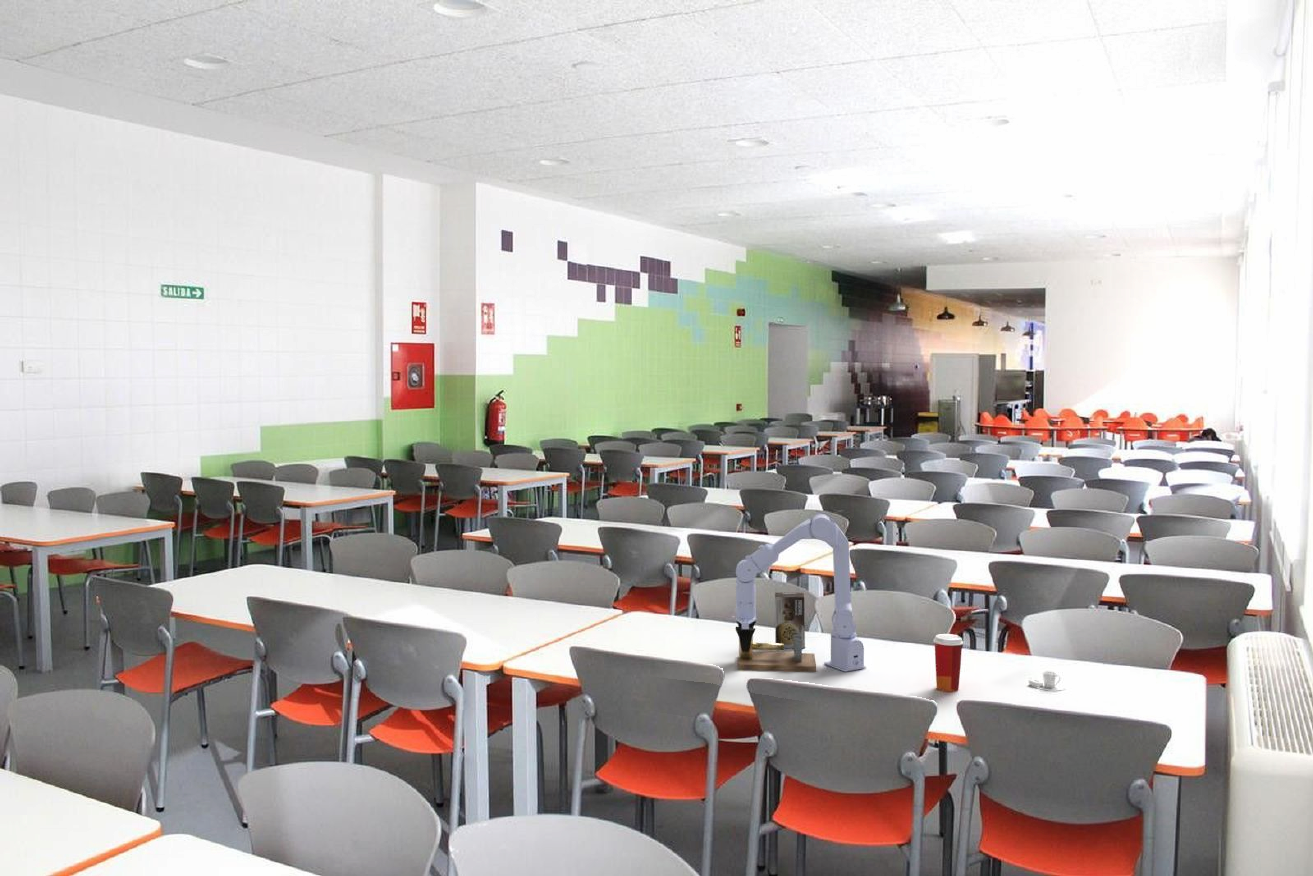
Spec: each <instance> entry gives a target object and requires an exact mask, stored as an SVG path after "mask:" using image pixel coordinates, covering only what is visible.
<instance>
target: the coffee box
mask: <svg viewBox="0 0 1313 876" xmlns="http://www.w3.org/2000/svg"><path fill="white" fill-rule="evenodd" d="M805 604H806V603H805V594H804V592H775V593H774V617H775V618H774V620H775V621H774V622H775V623H774V624H775V628H774V629H775V631H774V633H775V634H774V635H775V637H774V638H775V639H774V640H775V642H774V643H782V644H784V649H789V648H790V649H794V632H795V633H801V637H802V649H805V648H806V643H805V642H806V635H805V634H806V631H805V629H806V628H805V624H806V622H805V619H806V618H805V617H806V616H805V615H806V614H805V611H806V610H805V609H806V608H805Z"/></svg>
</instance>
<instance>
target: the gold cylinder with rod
mask: <svg viewBox="0 0 1313 876" xmlns="http://www.w3.org/2000/svg"><path fill="white" fill-rule="evenodd" d="M754 651H783V652H784V651H785V648H784V644H782V643H775V642H754V635H753V636H752V639H751V645H750V650H749V652H742V650H741V646H740V640H739V639H738V658H739V657H740V658H743V659H750V658H753V652H754Z"/></svg>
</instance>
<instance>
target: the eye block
mask: <svg viewBox="0 0 1313 876" xmlns="http://www.w3.org/2000/svg"><path fill="white" fill-rule="evenodd" d="M802 649H803V648H802V637H801V633H795V632H794V648H793V652H775V651H774V652H771V651H769V652H767V651H765V652H764V651H753V658H750V659H743V658H740V657H739V656H738V662H737V670H742V671H743V670H744V671H745V670H746V671H771V672H772V671H774V672H776V671H777V672H779V671H780V672H781V671H782V672H810V673H811V672H812V673H813V672H815V673H816V672H817V661H816V657H815V653H808V652H806V653H804V652H803V650H802Z"/></svg>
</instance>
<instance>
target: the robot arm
mask: <svg viewBox="0 0 1313 876" xmlns="http://www.w3.org/2000/svg"><path fill="white" fill-rule="evenodd" d="M812 536H813V537H814V538H815V539H817V540H819V541H822V542H825V543H826V544H827V545H828V546H829V547H831V549H832V560H833V585H834V587H833V589H834V593H833V594H834V612H833V614H832V616H831V624H832V625H833V627H832V628H833V630H832V631H831V632H830V661H824V662H823V664H824V665H826V666H828V667H832V668H834V669H836V670H839V671H843V672H850V671H851V672H852V671H856V670H862V669H866V668H867V665H865V664H864V662H865V661H864V660H865V659H864V658H865V657H864V656H865V647H864V644H863V642H862V641H861V640H860V639H858V637H857V632H856V628H857V624H856V621H855V620H854V615H853V609H852V608H853V607H852V599H851V598H852V597H851V596H852V595H851V571H850V570H851V567H850V565H851V563H850V542H849V540H848V538H847V536H846V535H845V534H844V532H843V531H842V529H841V528H840V526H839V525H838V524H837V523H836V522H835V520H834V519H832V518H831V517H830V516H828V515H826V514H824V513H816V514H815V515H813V516H812V517H811V518H808V519H806V520H804V521H803V522H801V523H799V524H798V525H796V527H794V528H793V529H792V530H790V531H788V532H787V534H785V535H784V536H782V537H781V538H779V539H778V540H777V541H775V543H774V544H769V543H766V544H764V545H763V544H760V545H759V546H758V549H757V550H756V551H754V552H753V553H751V554H750V555H748V554H747V555H746V556H745V558H744V559H742V560H740V561H739V562H738V563H737V565H736V568H735V575H736V582H735V583H736V586H735V615H731V619H732V620H734V621H735V620H736V624H737V626H735V631H736V634H737V636H738V641H739V640H740V646H741V650H742V652H749V650H750V645H751V639H752V636H753V637H754V633H755V631H756V628H755V625H756V622H757V615H756V614H757V612H756V611H757V609H756V607H757V605H756V604H757V601H756V600H757V596H756V595H757V592H756V590H757V588H756V587H757V586H756V577H757V574H759V573H760V574H761V572H763V571H766V569H768V568H769V567H770V566H772V565H774V564H775V563H776V562H778V560H779V556H780V554H781V553H783V552H784V551H785V550H787V549H789V548H791V547H792V546H793V545H795V544H797V543H798V542H799V541H801V540H812Z"/></svg>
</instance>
